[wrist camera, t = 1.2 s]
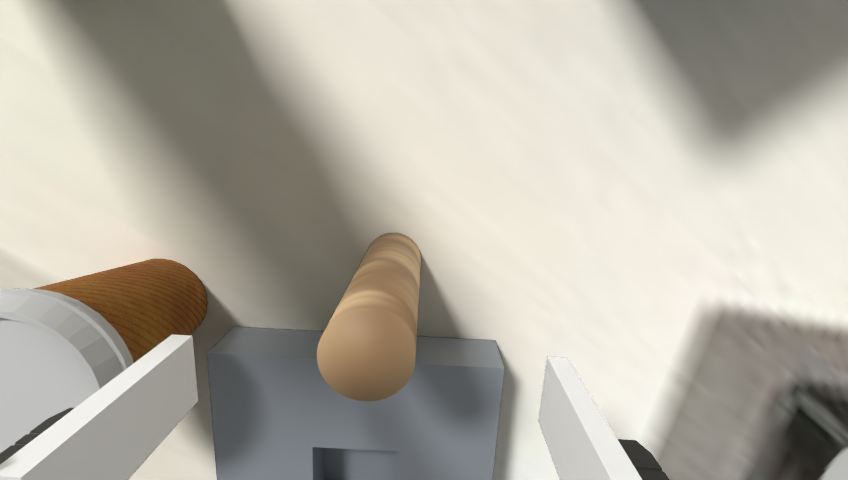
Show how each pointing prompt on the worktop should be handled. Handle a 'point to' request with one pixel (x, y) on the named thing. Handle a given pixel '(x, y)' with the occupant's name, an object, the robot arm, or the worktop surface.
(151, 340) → the disposable coffee cup
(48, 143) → the worktop surface
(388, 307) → the oak peg
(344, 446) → the socket block
